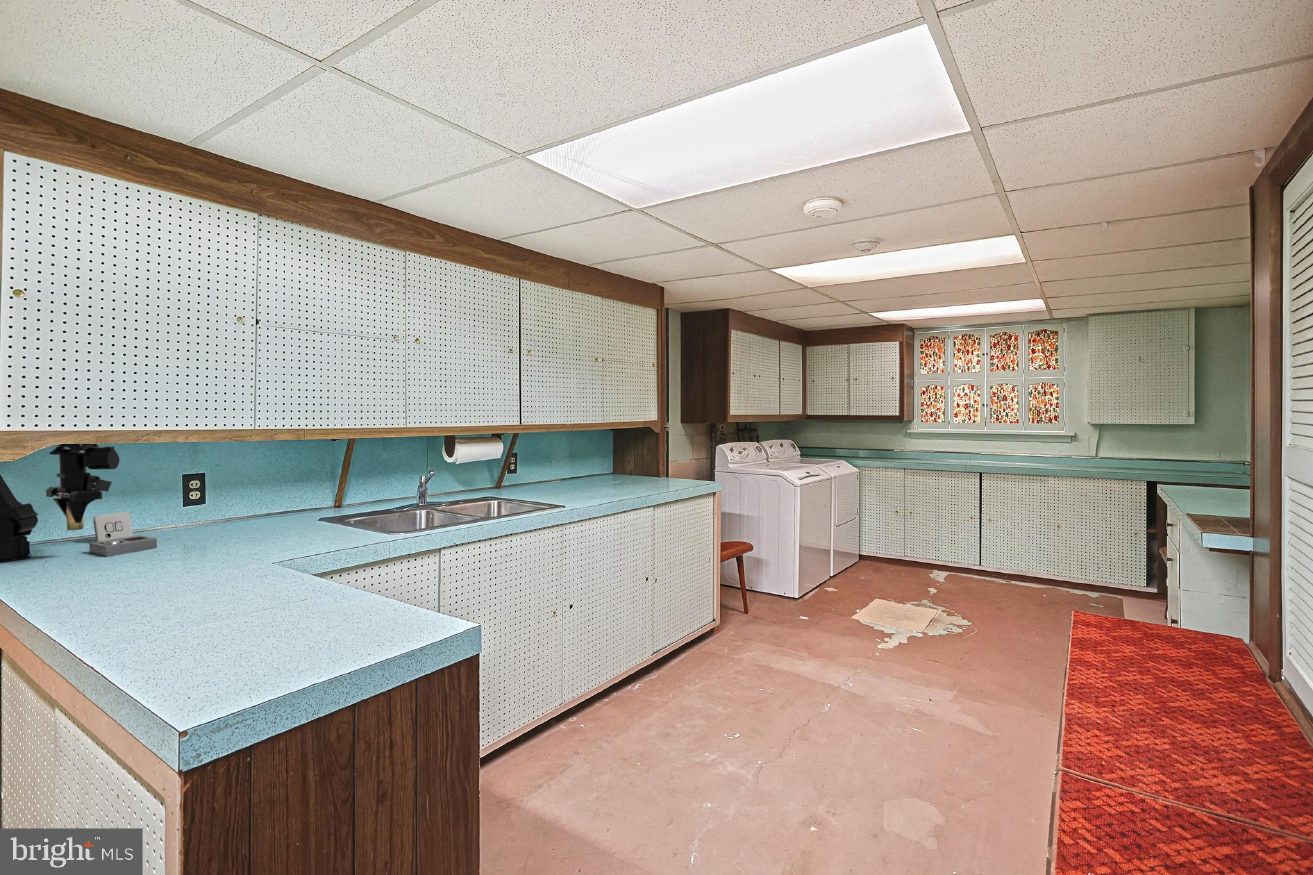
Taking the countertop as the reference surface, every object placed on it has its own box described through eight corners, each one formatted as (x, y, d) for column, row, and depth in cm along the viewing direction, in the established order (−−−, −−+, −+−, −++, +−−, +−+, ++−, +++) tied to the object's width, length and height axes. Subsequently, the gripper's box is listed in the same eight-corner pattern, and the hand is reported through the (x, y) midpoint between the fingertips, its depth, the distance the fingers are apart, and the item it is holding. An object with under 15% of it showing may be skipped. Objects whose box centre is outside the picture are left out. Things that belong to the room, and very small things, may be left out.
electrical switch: (98, 544, 199) (96, 515, 199) (91, 543, 202) (89, 515, 202) (133, 538, 208) (131, 511, 208) (126, 538, 210) (124, 511, 210)
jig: (106, 556, 184) (106, 546, 184) (89, 552, 188) (89, 542, 188) (157, 547, 196) (156, 538, 195) (140, 544, 200) (139, 535, 200)
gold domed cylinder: (70, 530, 180) (69, 507, 180) (64, 529, 182) (63, 505, 181) (86, 528, 183) (85, 505, 183) (80, 527, 185) (79, 504, 184)
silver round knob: (107, 554, 187) (107, 543, 187) (101, 553, 188) (101, 541, 188) (122, 552, 190) (122, 540, 190) (116, 550, 192) (115, 539, 191)
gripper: (123, 469, 185) (124, 520, 186) (91, 465, 193) (93, 515, 194) (75, 472, 175) (77, 527, 176) (44, 468, 183) (46, 520, 184)
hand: (75, 522), depth 182 cm, fingers closed on gold domed cylinder, 4 cm apart
